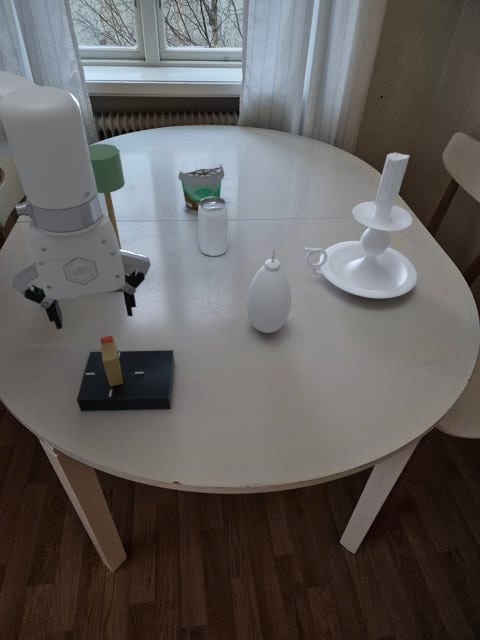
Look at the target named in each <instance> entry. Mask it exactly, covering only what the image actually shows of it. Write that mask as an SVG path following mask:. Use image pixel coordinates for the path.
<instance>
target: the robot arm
mask: <svg viewBox="0 0 480 640" xmlns="http://www.w3.org/2000/svg"><path fill="white" fill-rule="evenodd" d="M88 146H89V145H88V140H87V135H86V129H85V125H84V120H83V115H82V111H81V106H80V104H79V101H78V100H77V99H76V97H75V96H74V94H72V93H70V92H69V91H67V90H65V89H64V88H59V87H55V86H47V85H45V86H44V85H38V84H36V83H34V82H32V81H31V80H29V79H27V78H25V77H23V76H22V75H19V74H16V73H15V72H11V71H7V70H0V157H2V156H4V155H6V154H10V153H11V154H12V157H13V160H14V163H15V164H14V165H15V166H16V170H17V173H18V176H19V179H20V182H21V185H22V188H23V191H24V193H25V196H26V198H25V201H22V202H20V203H15V211H16V214H17V216H18V217H21V216H25V217H28V218H30V220H29V221H30V222H29V225H28V233H29V234H28V236H29V242H30V247H31V252H32V256H33V261H34V262H33V263H32V264H30V265H29V266H27V267H25V268H24V269H22V270H20V271H19V272H17V273H15V274H14V275H13V276H12V277H11V282H10V285H11V287H13V288H14V289H15V290H16V291H18V292H19V293H20V294H22V295H24V298H25V299H27V300H29V301H31V302H34V303H37V304H39V305H40V306H39V307H41V308H42V309H44V310H45V312H46V315H47V317H48V320H49V322H51V323H52V322H54V324H55V328H56V330H61V329H62V328H63V325H64V324H63V313H62V310H61V306H60V303H59V300H67V299H68V300H69V299H74V298H81V297H86V296H94V295H99V294H105V293H112V292H111V291H115V290H118V289H122V290H123V292H122V293H123V298H124V304H125V309H126V314H127V316H128V317H134V314H133V309H132V308H137V303H136V302H137V301H136V296H135V294H136V292H137V288H138V287H139V286H140V285H141V284H142V283H143V282H144V281H145V280H146V275H147V274H148V271H149V270H150V268H151V261H150V257H148V256H145V255H142V254H139V253H137V254H134V253H135V252H130V251H127V250H123V249H122V250H120V249H119V245H118V241H117V238H116V234H115V231H114V228H113V226H112V223H111V221H110V218H109V216H108V211H107V210H106V209H104V208H103V207H101V203H100V197H99V193H98V192H97V188H96V183H95V178H94V173H93V168H92V163H91V159H90V154H89V149H88ZM123 263H124V264H128V265H132V266H136V267H137V268H136V269H135V270H134V271H133V272H132V274H131V275H129V274H127V273H126V272H124V267H123ZM37 278H39V279H38V280H39V282H40V286H41V288H40V287H38V286H36V285H34V284H31V283H30V282H32V281H33V280H35V279H37Z"/></svg>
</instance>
